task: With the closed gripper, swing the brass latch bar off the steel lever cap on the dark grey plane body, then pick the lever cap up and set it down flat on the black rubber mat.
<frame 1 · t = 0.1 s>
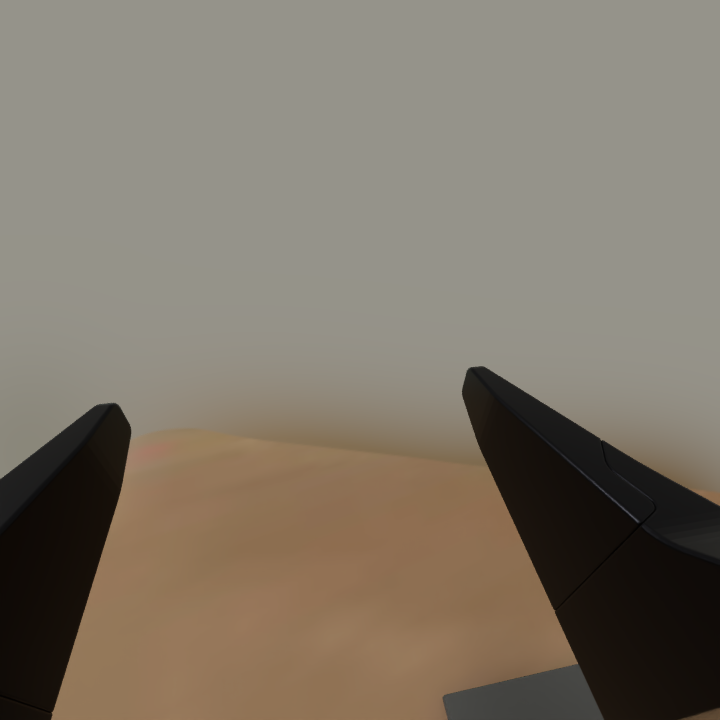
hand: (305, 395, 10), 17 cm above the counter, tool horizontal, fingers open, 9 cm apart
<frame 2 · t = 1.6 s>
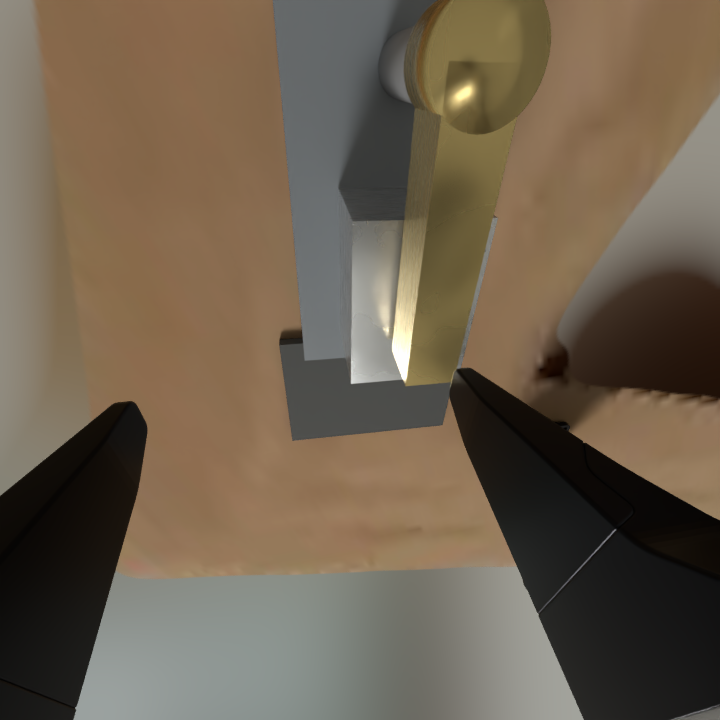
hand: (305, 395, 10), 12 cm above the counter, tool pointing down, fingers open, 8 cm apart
plane body: (380, 204, 19), on the counter
brass latch: (442, 230, 11), point 9 cm above the counter, hinge at 0.0°
lever cap: (390, 264, 18), point 3 cm above the counter, touching plane body
rubber mat: (370, 385, 27), on the counter
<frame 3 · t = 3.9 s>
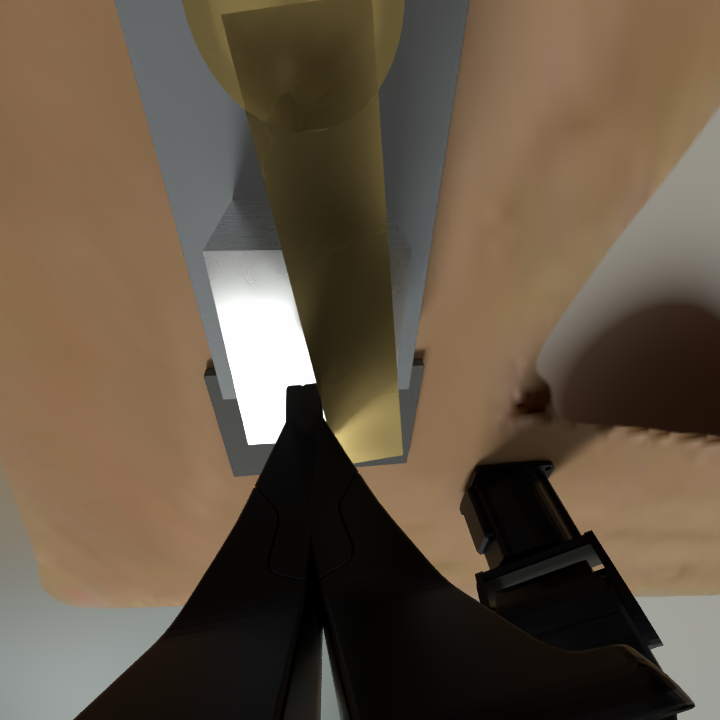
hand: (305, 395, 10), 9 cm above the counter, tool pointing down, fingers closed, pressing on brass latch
plane body: (310, 217, 16), on the counter
brass latch: (338, 267, 8), point 9 cm above the counter, hinge at 8.6°, touching gripper
lever cap: (313, 292, 14), point 3 cm above the counter, touching plane body
rubber mat: (320, 419, 23), on the counter
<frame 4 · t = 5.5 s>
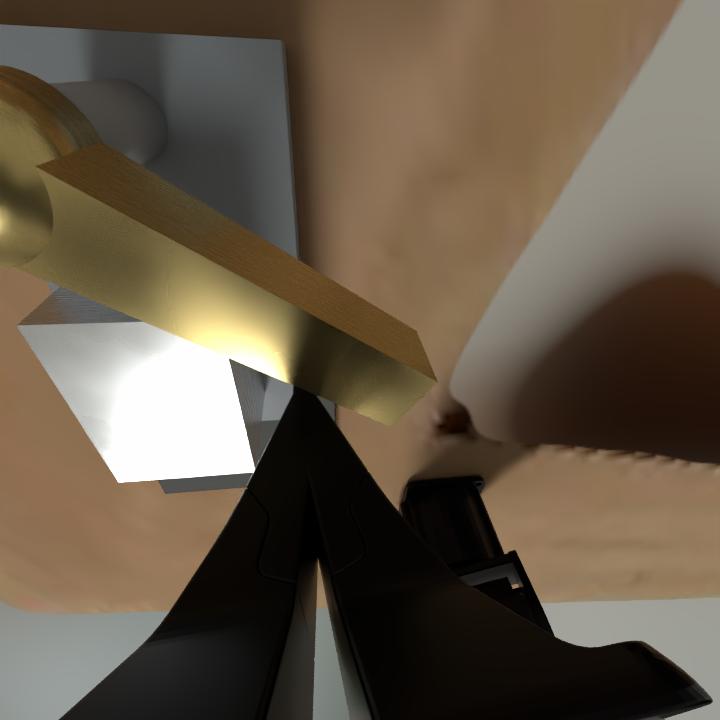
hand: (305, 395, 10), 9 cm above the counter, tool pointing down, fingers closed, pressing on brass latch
plane body: (198, 260, 16), on the counter
brass latch: (221, 282, 8), point 9 cm above the counter, hinge at 55.8°, touching gripper
lever cap: (193, 334, 15), point 3 cm above the counter, touching plane body
rubber mat: (243, 440, 24), on the counter
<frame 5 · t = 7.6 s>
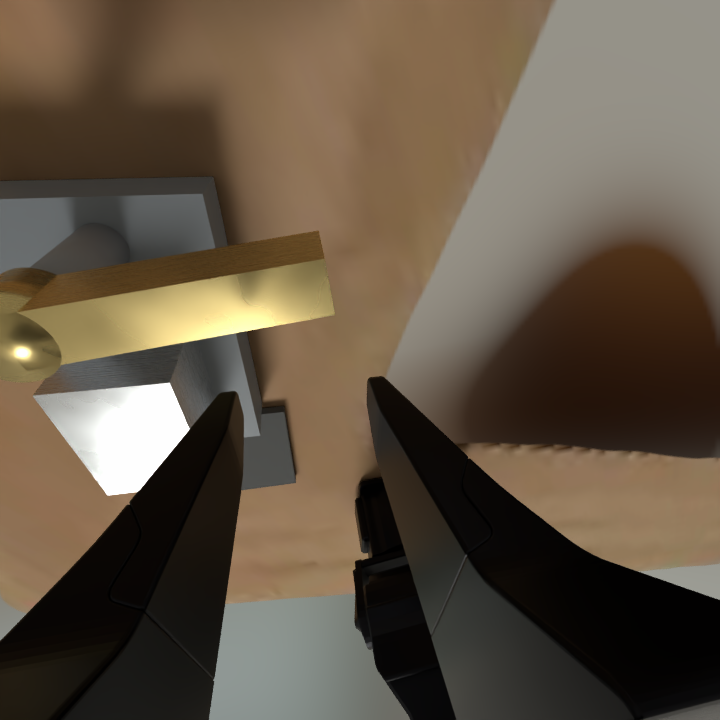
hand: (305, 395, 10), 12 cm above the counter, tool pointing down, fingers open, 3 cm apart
plane body: (162, 320, 21), on the counter
brass latch: (157, 301, 11), point 9 cm above the counter, hinge at 97.2°
lever cap: (160, 380, 20), point 3 cm above the counter, touching plane body
rubber mat: (213, 454, 29), on the counter
when the fingers open (2 cm above the counter, at t = 14.8 s): lever cap stays where it is, resting on rubber mat.
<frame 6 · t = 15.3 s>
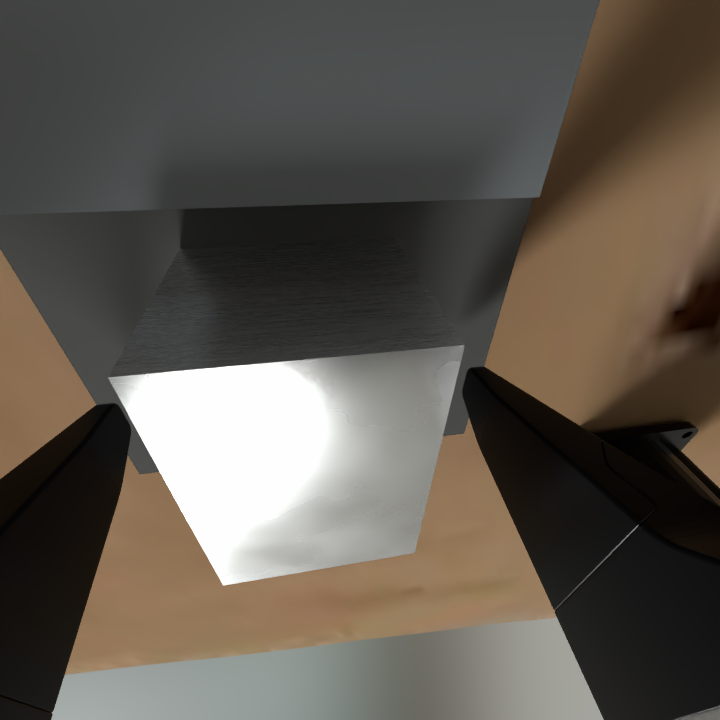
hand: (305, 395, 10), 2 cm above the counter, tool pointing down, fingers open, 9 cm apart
lever cap: (303, 358, 11), point 1 cm above the counter, touching rubber mat
rubber mat: (300, 346, 11), on the counter
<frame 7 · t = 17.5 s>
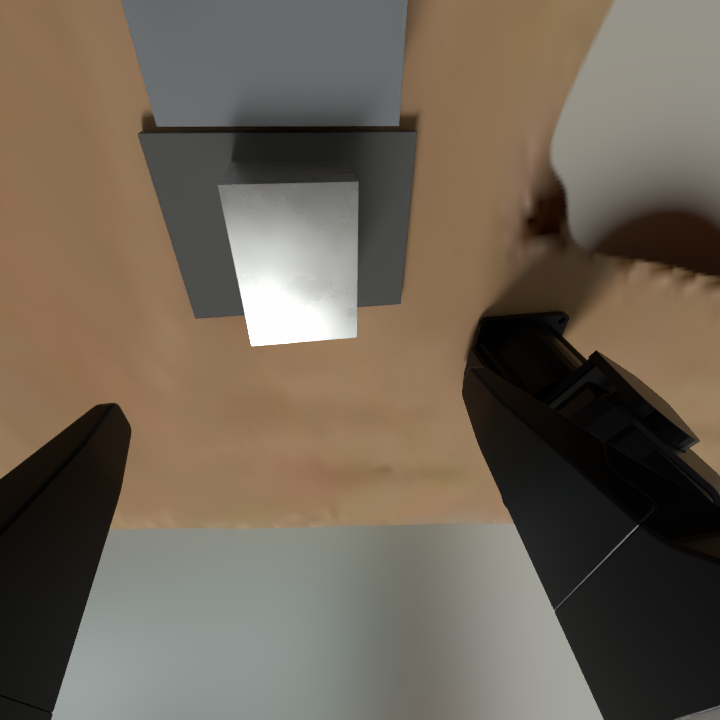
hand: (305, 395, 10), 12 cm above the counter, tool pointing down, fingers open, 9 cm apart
lever cap: (295, 235, 19), point 1 cm above the counter, touching rubber mat
rubber mat: (294, 231, 19), on the counter
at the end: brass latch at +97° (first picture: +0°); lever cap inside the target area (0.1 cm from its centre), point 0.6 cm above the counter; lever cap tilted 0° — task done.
